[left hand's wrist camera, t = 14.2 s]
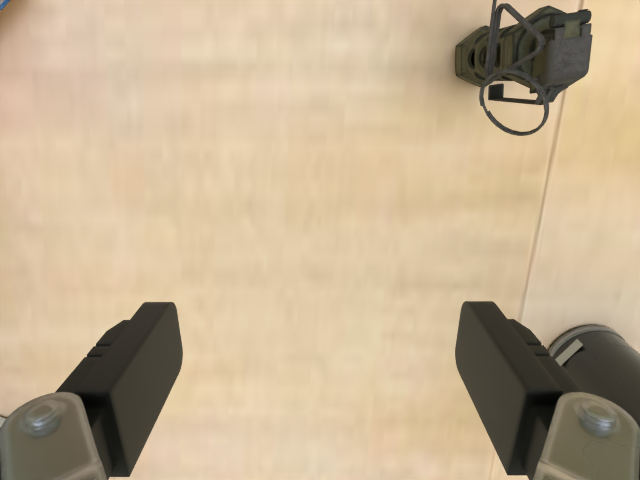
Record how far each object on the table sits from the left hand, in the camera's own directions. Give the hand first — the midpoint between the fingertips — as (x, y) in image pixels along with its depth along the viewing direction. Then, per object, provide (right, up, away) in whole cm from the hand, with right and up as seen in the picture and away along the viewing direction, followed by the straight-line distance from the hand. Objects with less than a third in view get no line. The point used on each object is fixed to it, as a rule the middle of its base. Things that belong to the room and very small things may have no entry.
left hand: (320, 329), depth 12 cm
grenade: (+14, +18, +27) cm, 36 cm away
